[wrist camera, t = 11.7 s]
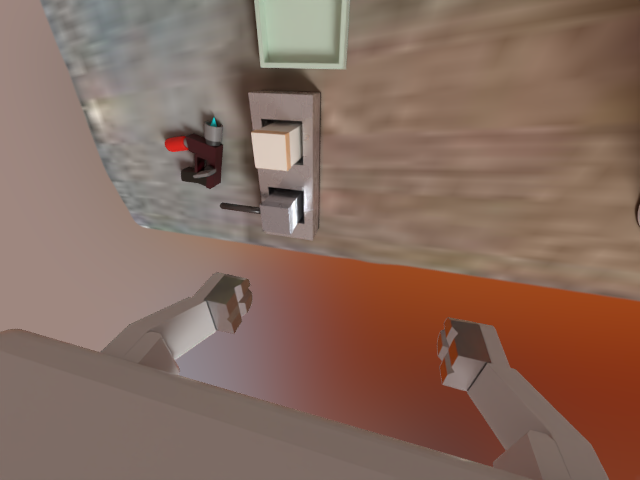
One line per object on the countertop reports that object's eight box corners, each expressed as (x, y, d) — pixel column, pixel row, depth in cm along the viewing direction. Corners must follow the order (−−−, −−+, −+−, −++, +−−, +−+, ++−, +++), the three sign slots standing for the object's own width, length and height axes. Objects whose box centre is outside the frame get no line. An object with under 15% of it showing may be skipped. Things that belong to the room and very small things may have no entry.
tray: (352, -41, 25) (349, -48, 24) (345, 69, 30) (343, 69, 29) (258, -35, 27) (250, -41, 26) (267, 67, 32) (260, 67, 31)
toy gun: (229, 118, 37) (210, 124, 34) (224, 190, 45) (208, 202, 41) (169, 95, 38) (142, 98, 34) (173, 170, 45) (152, 180, 41)
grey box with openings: (320, 92, 32) (300, 98, 25) (318, 227, 44) (304, 257, 37) (225, 88, 35) (183, 93, 28) (246, 217, 46) (220, 243, 39)
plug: (306, 122, 34) (285, 134, 28) (306, 153, 36) (287, 171, 30) (277, 120, 35) (250, 131, 29) (279, 150, 37) (255, 168, 31)
